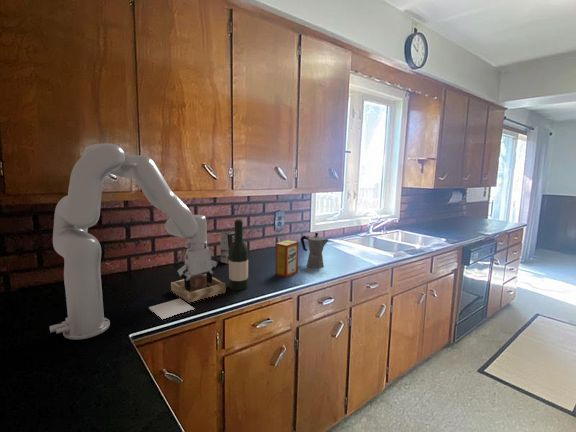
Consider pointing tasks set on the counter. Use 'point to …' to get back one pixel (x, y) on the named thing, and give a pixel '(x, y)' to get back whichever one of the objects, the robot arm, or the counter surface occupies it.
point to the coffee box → (226, 245)
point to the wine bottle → (238, 260)
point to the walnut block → (198, 282)
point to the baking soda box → (286, 258)
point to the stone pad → (171, 308)
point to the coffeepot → (314, 250)
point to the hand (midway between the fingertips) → (198, 285)
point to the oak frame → (215, 289)
